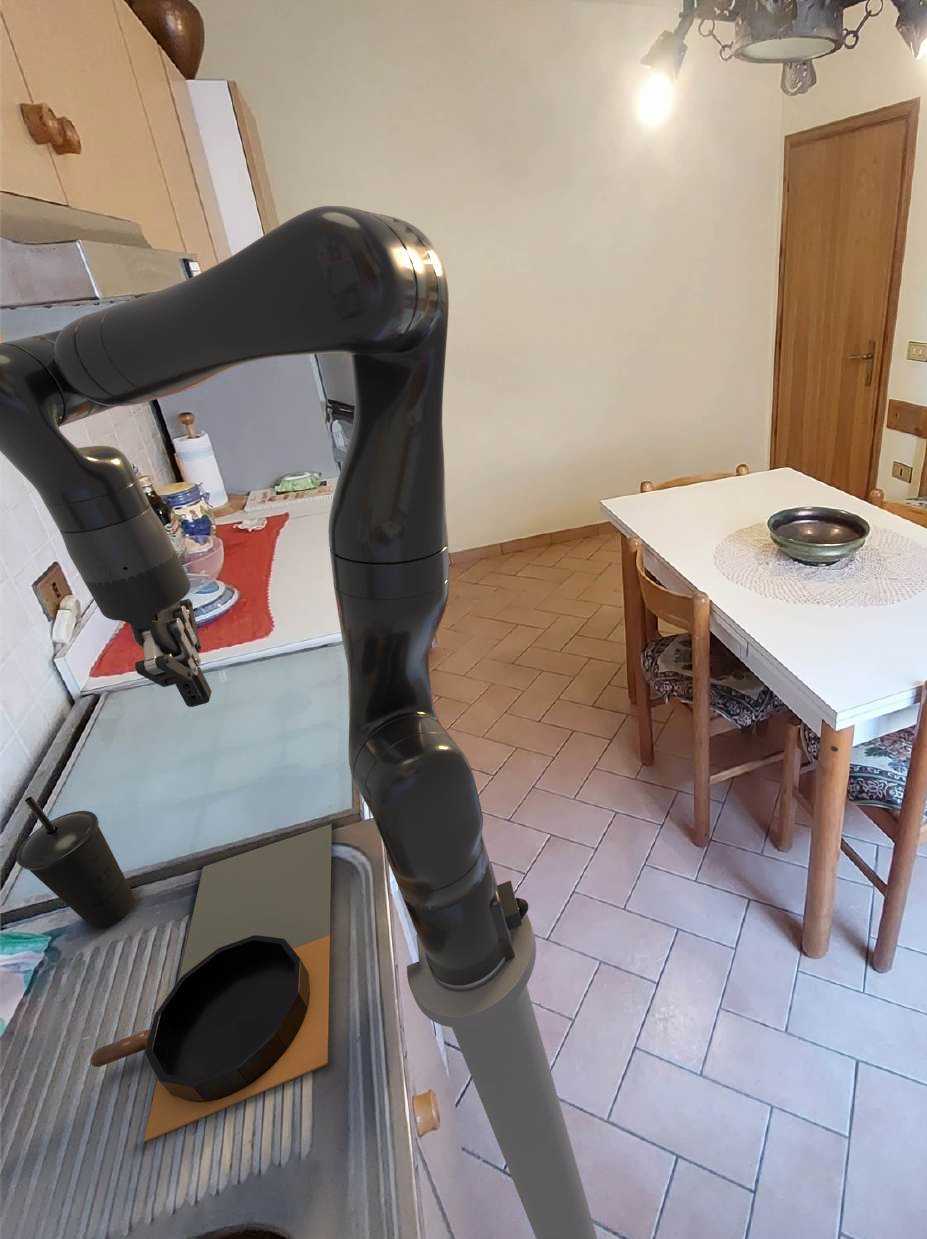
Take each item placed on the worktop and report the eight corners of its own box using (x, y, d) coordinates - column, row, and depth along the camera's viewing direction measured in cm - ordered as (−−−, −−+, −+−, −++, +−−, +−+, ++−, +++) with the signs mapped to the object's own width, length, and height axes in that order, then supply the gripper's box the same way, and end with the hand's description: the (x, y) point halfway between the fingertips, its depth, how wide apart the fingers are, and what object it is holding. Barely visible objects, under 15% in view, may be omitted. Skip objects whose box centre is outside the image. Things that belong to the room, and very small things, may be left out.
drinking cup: (60, 944, 79) (-35, 831, 69) (102, 885, 85) (20, 775, 76) (124, 937, 79) (37, 824, 69) (160, 880, 85) (86, 769, 76)
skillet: (312, 935, 76) (303, 916, 75) (307, 1063, 65) (295, 1044, 63) (124, 1005, 71) (109, 986, 70) (81, 1157, 60) (61, 1140, 58)
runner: (331, 825, 91) (331, 823, 90) (327, 1064, 65) (326, 1063, 65) (203, 868, 86) (202, 866, 86) (145, 1142, 60) (143, 1141, 60)
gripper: (156, 580, 57) (230, 729, 66) (185, 523, 68) (246, 657, 77) (56, 603, 55) (145, 753, 64) (103, 540, 66) (174, 675, 75)
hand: (200, 700), depth 70 cm, fingers closed
